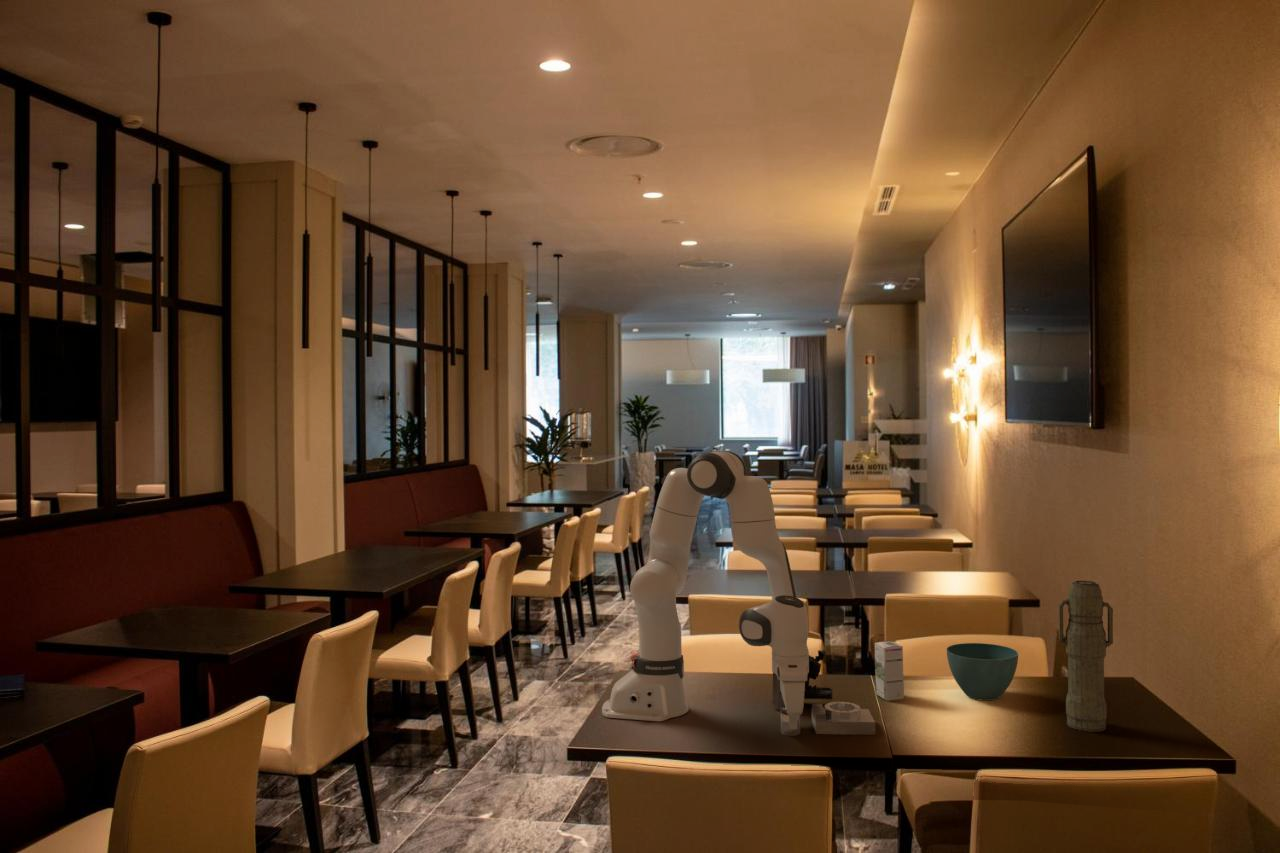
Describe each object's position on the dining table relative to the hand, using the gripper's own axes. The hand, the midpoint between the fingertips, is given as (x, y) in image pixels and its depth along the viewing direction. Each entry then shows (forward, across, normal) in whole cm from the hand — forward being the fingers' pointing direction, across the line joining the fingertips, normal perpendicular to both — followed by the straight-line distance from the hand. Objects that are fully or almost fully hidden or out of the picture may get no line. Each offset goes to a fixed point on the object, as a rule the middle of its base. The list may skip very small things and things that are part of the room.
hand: (791, 721), depth 228 cm
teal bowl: (+3, -30, +54) cm, 62 cm away
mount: (+3, -4, +13) cm, 14 cm away
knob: (+3, 0, 0) cm, 3 cm away
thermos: (+3, -6, +72) cm, 72 cm away
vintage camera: (+3, -21, +5) cm, 22 cm away
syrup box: (+3, -29, +29) cm, 41 cm away
